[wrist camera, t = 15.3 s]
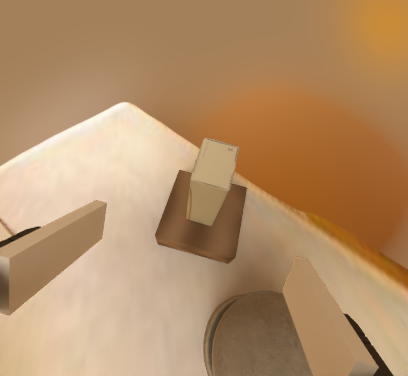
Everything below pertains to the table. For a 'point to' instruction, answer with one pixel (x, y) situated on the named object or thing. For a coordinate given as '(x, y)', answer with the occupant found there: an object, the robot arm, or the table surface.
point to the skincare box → (210, 180)
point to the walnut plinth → (200, 233)
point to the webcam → (254, 338)
